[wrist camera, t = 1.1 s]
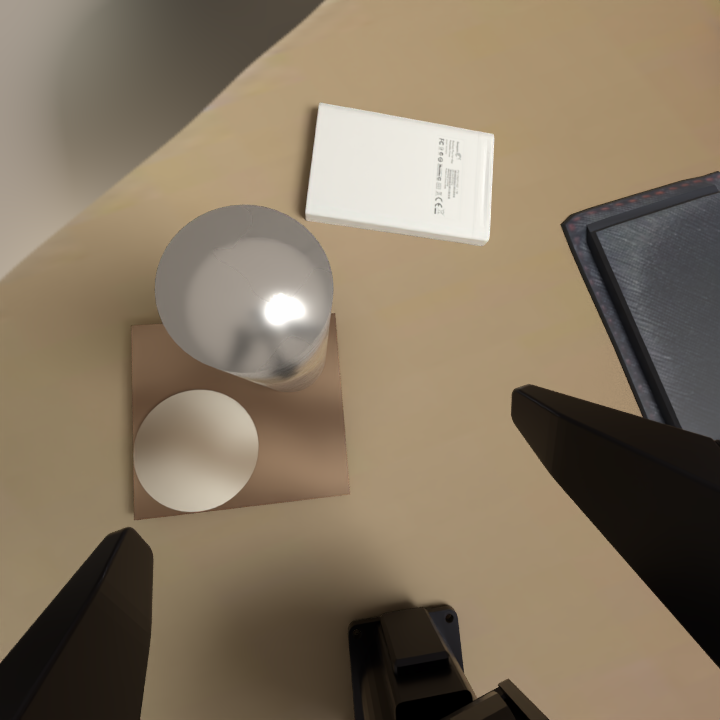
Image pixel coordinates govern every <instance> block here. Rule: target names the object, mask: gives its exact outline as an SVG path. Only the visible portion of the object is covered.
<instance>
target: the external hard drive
mask: <svg viewBox="0 0 720 720" xmlns="http://www.w3.org/2000/svg"><path fill="white" fill-rule="evenodd" d="M493 154H494V135H493V134H490V133H485V132H480V131H473V130H468V129H463V128H457V127H452V126H447V125H442V124H436V123H431V122H425V121H420V120H414V119H409V118H403V117H398V116H392V115H387V114H381V113H376V112H371V111H365V110H359V109H354V108H348V107H342V106H337V105H331V104H325V103H319V107H318V115H317V123H316V131H315V139H314V146H313V154H312V162H311V170H310V178H309V186H308V193H307V202H306V209H305V215H306V221H313V222H320V223H327V224H333V225H341V226H348V227H355V228H362V229H368V230H375V231H382V232H389V233H396V234H402V235H410V236H416V237H423V238H430V239H437V240H444V241H451V242H457V243H465V244H470V245H477V246H483V245H485V244H486V243H487V242H488V240H489V236H490V219H491V195H492V175H493Z"/></svg>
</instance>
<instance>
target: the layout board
mask: <svg viewBox="0 0 720 720" xmlns="http://www.w3.org/2000/svg"><path fill="white" fill-rule="evenodd" d="M131 341H132V407H133V473H134V520H141V519H149V518H158V517H166V516H174V515H183V514H191V513H199V512H208V511H216V510H224V509H232V508H241V507H249V506H257V505H266V504H274V503H282V502H290V501H299V500H307V499H315V498H324V497H332V496H340V495H348V494H350V487H349V475H348V463H347V451H346V438H345V426H344V414H343V402H342V390H341V378H340V366H339V354H338V342H337V330H336V318H335V313H332V314H331V316H330V325H329V333H328V341H327V350H326V358H325V364H324V368H323V370H322V373H321V374H320V376H319V377H318V379H317V380H316V381H315V382H314V383H313V384H311V385H310V386H309V387H307V388H305V389H303V390H300V391H297V392H281V391H277V390H274V389H271V388H269V387H266V386H263V385H260V384H258V383H255V382H252V381H249V380H247V379H244V378H241V377H238V376H236V375H233V374H230V373H227V372H225V371H222V370H219V369H216V368H214V367H211V366H209V365H206V364H204V363H202V362H200V361H198V360H196V359H195V358H193V357H192V356H190V355H189V354H188V353H186V352H185V351H184V350H183V349H182V348H181V347H180V346H178V345H177V344H176V343H175V341H174V340H173V339H172V337H171V336H170V335H169V334H168V332H167V330H166V328H165V327H164V325H163V324H147V325H131Z"/></svg>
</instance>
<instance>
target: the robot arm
mask: <svg viewBox="0 0 720 720" xmlns="http://www.w3.org/2000/svg"><path fill="white" fill-rule="evenodd" d="M511 417H512V420H513V422H514V424H515V425H516V427H517V428H518V430H519V431H520V433H521V434H522V435H523V437H524V438H525V440H526V441H527V442H528V444H529V445H530V447H531V448H532V449H533V451H534V452H535V454H536V455H537V457H538V458H539V459H540V461H541V462H542V464H543V465H544V466H545V468H546V469H547V470H548V472H549V473H550V474H551V476H552V477H553V478H554V479H555V480H556V482H557V483H558V484H559V485H560V486H561V487H562V489H563V490H564V491H565V492H566V493H567V494H568V495H569V497H570V498H571V499H572V500H573V501H574V502H575V503H576V505H577V506H578V507H579V508H580V509H581V510H582V511H583V513H584V514H585V515H586V516H587V517H588V518H589V519H590V521H591V522H592V523H593V524H594V525H595V526H596V528H597V529H598V530H599V531H600V532H601V533H602V534H603V536H604V537H605V538H606V539H607V540H608V541H609V542H610V544H611V545H612V546H613V547H614V548H615V549H616V550H617V552H618V553H619V554H620V555H621V556H622V557H623V558H624V560H625V561H626V562H627V563H628V564H629V565H630V566H631V568H632V569H633V570H634V571H635V572H636V573H637V574H638V576H639V577H640V578H641V579H642V580H643V581H644V582H645V584H646V585H647V586H648V587H649V588H650V589H651V591H652V592H653V593H654V594H655V595H656V596H657V597H658V599H659V600H660V601H661V602H662V603H663V604H664V605H665V607H666V608H667V609H668V610H669V611H670V612H671V613H672V615H673V616H674V617H675V618H676V619H677V620H678V621H679V623H680V624H681V625H682V626H683V627H684V628H685V629H686V631H687V632H688V633H689V634H690V635H691V636H692V637H693V639H694V640H695V641H696V642H697V643H698V644H699V645H700V647H701V648H702V649H703V650H704V651H705V652H706V654H707V655H708V656H709V657H710V658H711V659H712V660H713V662H714V663H715V664H716V665H717V666H718V667H719V668H720V440H713V439H712V438H710V437H707V436H704V435H700V434H697V433H694V432H690V431H687V430H683V429H680V428H677V427H673V426H670V425H666V424H663V423H660V422H656V421H653V420H650V419H646V418H643V417H639V416H636V415H633V414H629V413H626V412H623V411H619V410H616V409H612V408H609V407H606V406H602V405H599V404H596V403H592V402H589V401H585V400H582V399H579V398H575V397H572V396H568V395H565V394H562V393H558V392H555V391H552V390H548V389H545V388H541V387H538V386H535V385H531V384H527V385H524V386H521V387H518V388H516V389H514V390H513V392H512V403H511ZM152 591H153V553H152V550H151V548H150V546H149V545H148V544H147V543H146V542H145V541H144V540H143V539H142V537H141V536H140V535H139V534H138V533H137V532H136V531H135V530H134V529H133V528H131V527H126V528H123V529H121V530H118V531H115V532H112V533H110V534H108V535H107V536H106V537H105V538H104V539H103V541H102V542H101V543H100V544H99V545H98V547H97V548H96V549H95V550H94V551H93V553H92V554H91V555H90V556H89V557H88V559H87V560H86V561H85V562H84V563H83V565H82V566H81V567H80V568H79V569H78V571H77V572H76V573H75V574H74V575H73V577H72V578H71V579H70V580H69V581H68V583H67V584H66V585H65V586H64V587H63V589H62V590H61V591H60V592H59V593H58V595H57V596H56V597H55V598H54V599H53V601H52V602H51V603H50V604H49V605H48V607H47V608H46V609H45V610H44V611H43V613H42V614H41V615H40V616H39V617H38V619H37V620H36V621H35V622H34V623H33V625H32V626H31V627H30V628H29V629H28V631H27V632H26V633H25V634H24V635H23V637H22V638H21V639H20V640H19V641H18V643H17V644H16V645H15V646H14V647H13V649H12V650H11V651H10V652H9V653H8V655H7V656H6V657H5V658H4V659H3V661H2V662H1V663H0V720H140V715H141V707H142V700H143V692H144V685H145V677H146V670H147V662H148V655H149V647H150V638H151V624H152ZM448 614H451V617H450V618H449V619H445V618H446V615H448ZM356 629H359V630H360V633H359V634H357V635H356V634H354V633H353V632H354V630H356ZM348 638H349V651H350V664H351V676H352V689H353V702H354V714H355V720H549V719H548V718H547V717H546V716H545V715H544V714H543V713H542V712H541V711H540V710H539V709H538V708H537V707H536V706H535V705H534V704H533V703H532V702H531V701H530V700H529V699H528V698H527V697H526V696H525V695H524V694H523V693H522V692H521V691H520V690H519V689H518V688H517V687H516V686H515V685H514V684H513V683H512V682H511V681H510V680H509V679H506V680H505V681H503V682H501V683H499V684H498V686H499V687H498V688H496V689H494V690H492V691H491V692H489V693H487V694H485V695H483V696H481V697H479V698H478V699H477V697H476V695H475V693H474V691H473V689H472V688H471V686H470V684H469V682H468V680H467V678H466V676H465V675H464V669H463V660H462V651H461V642H460V633H459V625H458V617H457V614H456V612H455V611H454V609H453V608H452V607H450V606H441V607H435V608H429V609H425V608H423V607H419V608H413V609H407V610H401V611H395V612H389V613H384V614H383V615H382V616H380V617H374V618H368V619H362V620H356V621H353V622H352V623H351V624H350V625H349V627H348Z"/></svg>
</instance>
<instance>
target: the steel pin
mask: <svg viewBox="0 0 720 720" xmlns="http://www.w3.org/2000/svg"><path fill="white" fill-rule="evenodd" d="M155 299H156V305H157V309H158V313H159V315H160V318H161V320H162V323H163V325H164V327H165V328H166V330H167V332H168V334H169V335H170V336H171V337H172V339H173V340H174V341H175V343H176V344H177V345H178V346H180V347H181V348H182V349H183V350H184V351H185V352H186V353H188V354H189V355H190V356H192V357H193V358H195V359H196V360H198V361H200V362H202V363H204V364H206V365H209V366H211V367H214V368H216V369H219V370H222V371H225V372H227V373H230V374H233V375H236V376H238V377H241V378H244V379H247V380H249V381H252V382H255V383H258V384H260V385H263V386H266V387H269V388H271V389H274V390H277V391H281V392H297V391H300V390H303V389H305V388H307V387H309V386H310V385H311V384H313V383H314V382H315V381H316V380H317V379H318V377H319V376H320V374H321V373H322V370H323V368H324V364H325V358H326V350H327V341H328V333H329V325H330V316H331V308H332V300H333V277H332V271H331V268H330V264H329V261H328V259H327V256H326V254H325V252H324V250H323V249H322V247H321V245H320V244H319V242H318V241H317V240H316V238H315V237H314V236H313V235H312V233H311V232H309V231H308V230H307V229H306V228H305V227H304V226H303V225H302V224H300V223H299V222H298V221H296V220H295V219H293V218H291V217H290V216H288V215H286V214H284V213H281V212H279V211H277V210H274V209H270V208H267V207H262V206H256V205H233V206H227V207H222V208H218V209H215V210H212V211H209V212H207V213H205V214H203V215H201V216H199V217H197V218H195V219H194V220H192V221H191V222H189V223H188V224H187V225H186V226H184V227H183V228H182V229H181V230H180V231H179V232H178V233H177V234H176V235H175V236H174V237H173V239H172V240H171V241H170V243H169V244H168V246H167V247H166V249H165V251H164V253H163V255H162V257H161V259H160V262H159V265H158V268H157V273H156V278H155Z"/></svg>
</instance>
